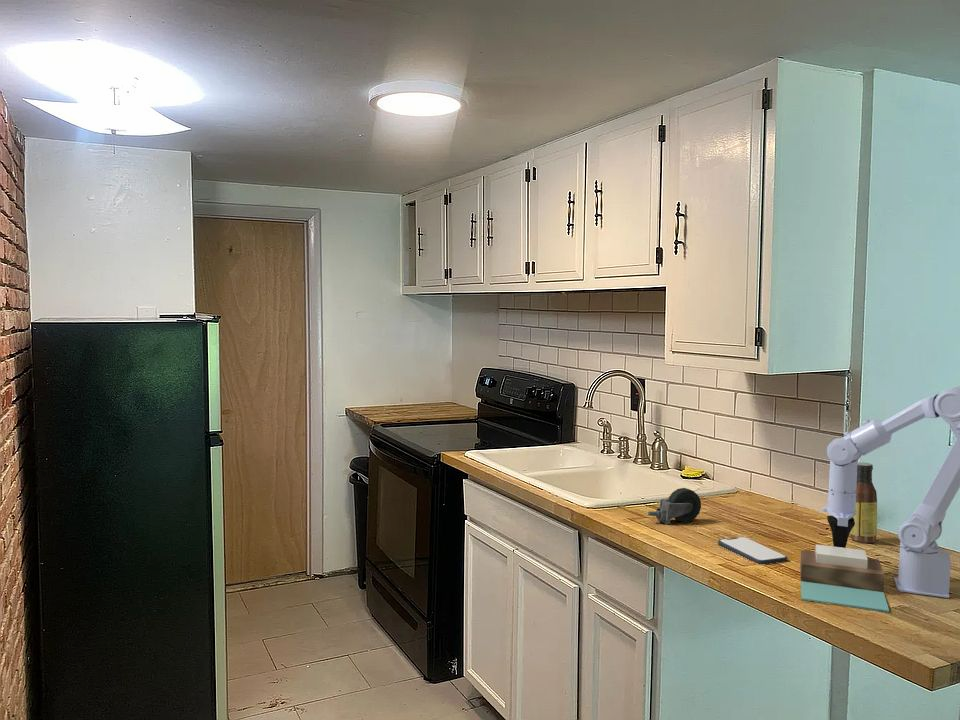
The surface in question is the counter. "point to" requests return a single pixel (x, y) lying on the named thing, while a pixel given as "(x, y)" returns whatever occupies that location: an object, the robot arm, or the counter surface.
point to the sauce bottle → (865, 506)
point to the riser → (842, 573)
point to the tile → (841, 556)
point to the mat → (844, 596)
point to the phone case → (752, 550)
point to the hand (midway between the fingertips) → (839, 549)
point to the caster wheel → (678, 506)
